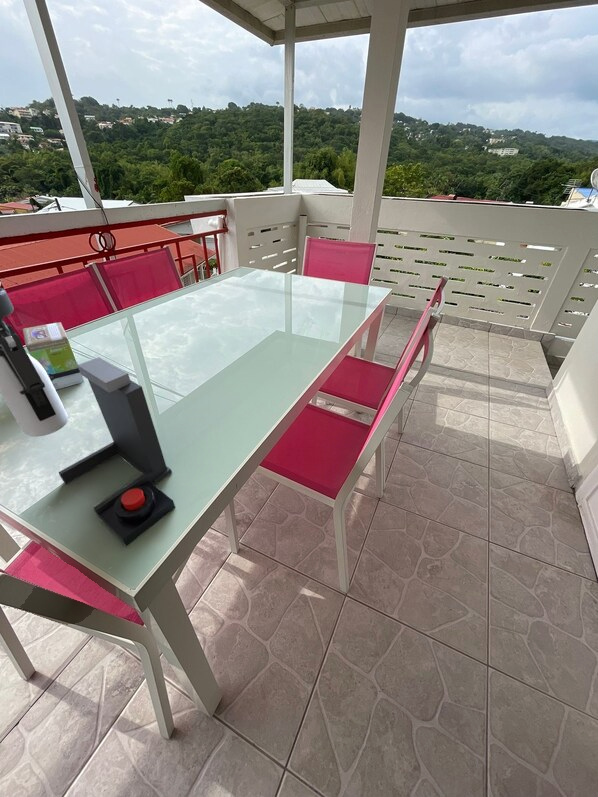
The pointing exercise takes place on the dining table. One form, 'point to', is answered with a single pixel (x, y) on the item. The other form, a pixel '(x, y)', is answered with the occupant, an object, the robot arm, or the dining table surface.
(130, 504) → the stop button
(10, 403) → the milk bottle
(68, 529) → the dining table surface
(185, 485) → the dining table surface
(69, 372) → the tea box
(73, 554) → the dining table surface
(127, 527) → the switch block
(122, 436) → the drink machine
